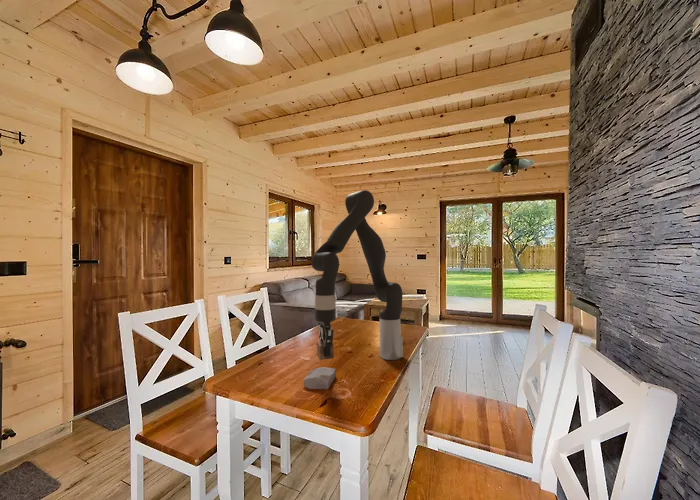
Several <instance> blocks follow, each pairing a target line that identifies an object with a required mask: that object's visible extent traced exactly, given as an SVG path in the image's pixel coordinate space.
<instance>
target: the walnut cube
mask: <svg viewBox="0 0 700 500" xmlns="http://www.w3.org/2000/svg"><path fill="white" fill-rule="evenodd" d="M328 342H329V340H328V341H327V343H328ZM334 345H335V343H333V345H332V346H331V356H330V357H324V341H320V340H319V341H316V351H317V352H316V356H317V357H318V359H319V360H320V361H323V360H330V359H331V360H332V359H334V358H335V355H334V354H335V352H334V351H335V349H334V348H335V346H334Z"/></svg>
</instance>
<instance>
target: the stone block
mask: <svg viewBox="0 0 700 500" xmlns="http://www.w3.org/2000/svg"><path fill="white" fill-rule="evenodd" d="M336 372H337V370H336V368H331V367H324V366H321V367H316V368H313V369H312V370H311V371H309V372H308V373H307V375H306V376H305V377H304V379H303V384H304V387H305V388H306V389H309V390H329V388H330V386H331V385H332V383H333V381H334V380H335V378H336V376H337V373H336Z"/></svg>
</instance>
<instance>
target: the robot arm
mask: <svg viewBox="0 0 700 500" xmlns="http://www.w3.org/2000/svg"><path fill="white" fill-rule="evenodd" d="M344 204H345V209H346V211H347V213H348V214H347V215H346V217H344V219H342V220H341V221H340V222H339V223H338V224H337V225H336V226H335V227H334V228H333V231H332V232H331V233H330V234H329V236H328V238H327V240H326V241H325V242H324V243H323V244H322V245H320V246H319V248H318V249H316V251H315V252H314V254H313V255H312V257H311V263H310V264H311V267H312V269H313V270H315V271H317V272H323V273H322V276H321V277H319V278H317V279H316V281H315V299H314V320H315V321H316V322H318V323H317V325H318V339H319V341H324V357H330V356H331V346H332V345H333V344H334V343H333V341H334V329H333V327H332V325H331V323H332V322H335V321H336V315H337V314H336V312H337V311H336V309H337V308H336V305H337V303H336V302H337V301H336V288H335V287H336V286H335V285H336V280H337V277H338V272H339V268H340V259H339V257H338V255H337V254H340V253H341V252H343V251H344V249H345V247H346V245H347V244H348V242H349V240H350V238H351V237H352V236H353V233H354V232H356V236H357V238H358V240H359V243H360V246H361V249H362V252H363V255H364V258H365V260H366V263H367V266H368V270H369V273H370V276H371V279H372V284H373V288H374V293H375V296H376V297H377V300H379V301H380V302H384V303H385V304H386V307H385V309H382V310H381V311H379V356H380V358H382V359H383V360H387V361H396V360H400V359H401V358H404V357H403V355H404V354H403V353H404V351H403V345H404V344H403V343H404V341H403V340H404V338H403V335H402V334H401V331H402V330H401V329H402V328H401V314H402V310H403V289H402V287H401V285H400V284H399V283H397V282H391V281H388V280H387V277H386V274H385V262H386V258H387V257H386V256H387V255H386V253H387V252H386V249H385V246H384V243H383V240H382V238H381V237H380V235H379V234H378V233H377V232H376V231H375V230H374V229H373V228H372V227H371V226H370V224H369V223H368V222H367V219H366V217H367V216H368V215H369V213H370V212H371V211H372V210H373V208H374V205H375V199H374V196H373V193H372V192H370V191H369V190H367V189H365V190H358V191H356V192H353V193H349V194H348V195H346V197H345V200H344ZM328 340H329V342H328V343H327V341H328Z"/></svg>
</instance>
